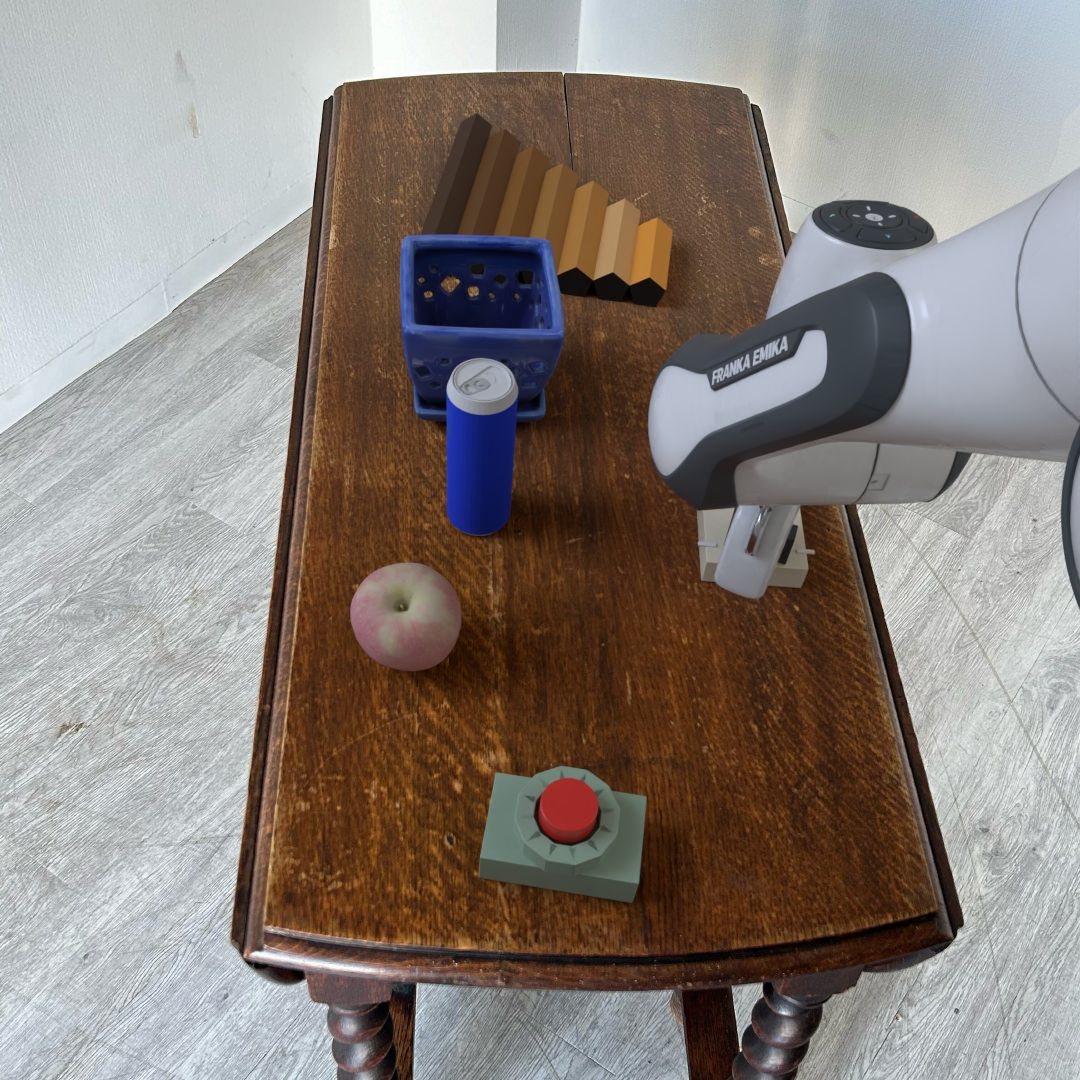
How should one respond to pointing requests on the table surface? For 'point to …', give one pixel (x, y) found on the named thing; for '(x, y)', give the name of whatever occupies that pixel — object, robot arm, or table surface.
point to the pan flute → (548, 216)
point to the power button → (568, 810)
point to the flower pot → (479, 315)
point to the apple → (406, 616)
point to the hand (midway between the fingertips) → (761, 542)
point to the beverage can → (480, 445)
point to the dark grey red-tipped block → (788, 544)
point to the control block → (543, 862)
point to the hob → (713, 538)
